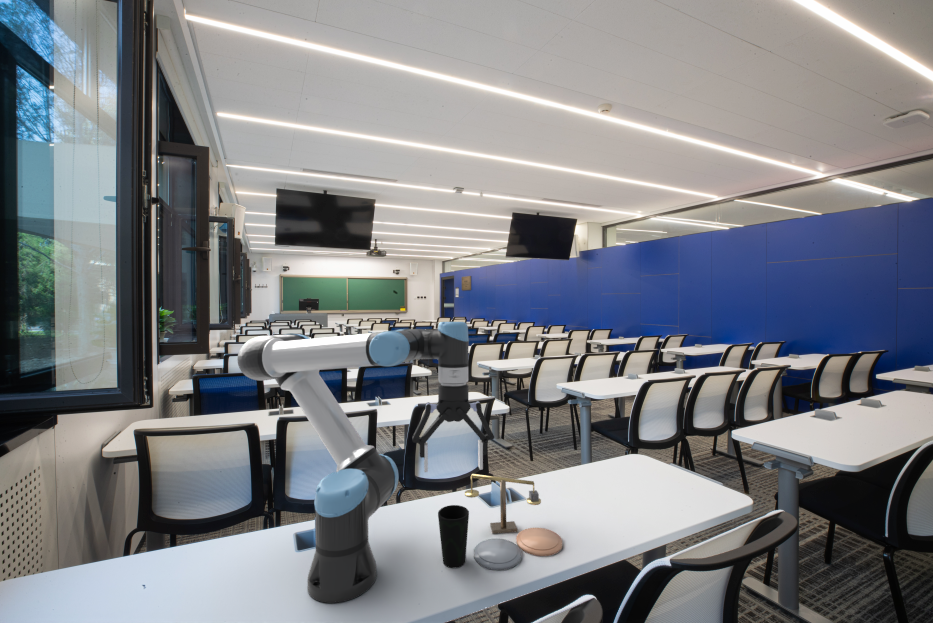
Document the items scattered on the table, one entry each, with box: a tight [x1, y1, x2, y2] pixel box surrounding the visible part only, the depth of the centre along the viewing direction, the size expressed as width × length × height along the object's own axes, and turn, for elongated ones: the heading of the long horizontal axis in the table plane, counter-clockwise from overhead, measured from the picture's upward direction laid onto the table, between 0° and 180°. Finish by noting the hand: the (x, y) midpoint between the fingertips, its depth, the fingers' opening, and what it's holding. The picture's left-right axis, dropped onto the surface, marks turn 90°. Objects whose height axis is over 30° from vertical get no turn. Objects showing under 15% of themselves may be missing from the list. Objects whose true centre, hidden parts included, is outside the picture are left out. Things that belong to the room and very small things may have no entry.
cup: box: [437, 504, 470, 569], centre depth 99 cm, size 8×8×12 cm
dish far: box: [516, 527, 563, 557], centre depth 106 cm, size 12×12×1 cm
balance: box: [464, 473, 542, 535], centre depth 114 cm, size 22×4×16 cm, turn 96°
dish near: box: [473, 538, 522, 571], centre depth 101 cm, size 12×12×1 cm
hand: (453, 469), depth 100 cm, fingers open, 13 cm apart
